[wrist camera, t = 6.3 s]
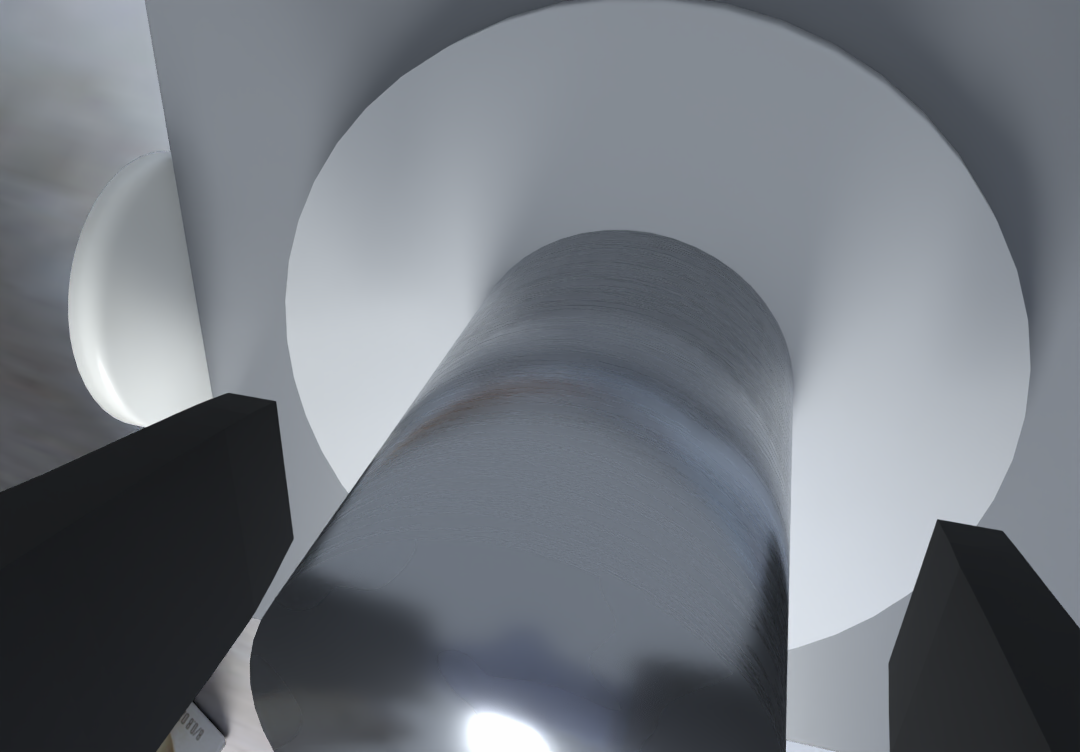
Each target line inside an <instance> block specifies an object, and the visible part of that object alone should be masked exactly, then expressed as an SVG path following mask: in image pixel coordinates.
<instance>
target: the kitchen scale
mask: <svg viewBox="0 0 1080 752" xmlns="http://www.w3.org/2000/svg"><path fill="white" fill-rule="evenodd" d="M145 4H146V10H147V16H148V21H149V27H150V33H151V39H152V45H153V51H154V57H155V62H156V68H157V74H158V80H159V86H160V92H161V98H162V103H163V109H164V115H165V121H166V127H167V133H168V139H169V145H170V150H171V151H159V152H152V153H149V154H146V155H143V156H141V157H139V158H137V159H135V160H134V161H132V162H130V163H129V164H127V165H126V166H125V167H124V168H123V169H121V170H120V171H119V172H118V173H117V174H116V175H115V176H114V177H113V178H112V179H111V180H110V181H109V183H108V184H107V185H106V186H105V188H104V189H103V191H102V192H101V193H100V195H99V196H98V198H97V199H96V201H95V203H94V205H93V207H92V209H91V210H90V212H89V214H88V216H87V219H86V221H85V223H84V226H83V228H82V231H81V233H80V236H79V240H78V243H77V247H76V250H75V253H74V258H73V263H72V268H71V274H70V283H69V293H68V320H69V331H70V339H71V344H72V349H73V354H74V357H75V361H76V364H77V367H78V370H79V373H80V375H81V377H82V379H83V381H84V384H85V386H86V388H87V389H88V391H89V392H90V394H91V395H92V397H93V398H94V400H95V401H96V402H97V403H98V404H99V405H100V406H101V408H102V409H103V410H105V411H106V412H107V413H108V414H110V415H111V416H112V417H114V418H116V419H118V420H120V421H122V422H124V423H128V424H132V425H136V426H141V427H148V426H150V425H152V424H154V423H157V422H159V421H161V420H163V419H165V418H168V417H170V416H172V415H174V414H177V413H179V412H181V411H183V410H186V409H188V408H190V407H193V406H195V405H197V404H200V403H202V402H205V401H207V400H210V399H212V398H215V397H218V396H221V395H223V394H226V393H233V394H239V395H245V396H250V397H256V398H261V399H267V400H273V401H276V403H277V411H278V419H279V427H280V434H281V442H282V450H283V458H284V466H285V473H286V481H287V489H288V497H289V504H290V512H291V520H292V528H293V535H294V540H293V542H292V544H291V546H290V548H289V550H288V552H287V554H286V556H285V557H284V559H283V561H282V563H281V565H280V567H279V569H278V571H277V573H276V575H275V577H274V579H273V581H272V583H271V585H270V587H269V588H268V590H267V592H266V594H265V596H264V597H263V599H262V601H261V603H260V605H259V607H258V608H257V610H256V612H255V614H254V615H253V617H252V618H255V619H260V620H261V619H262V617H263V616H264V614H265V613H266V611H267V610H268V608H269V607H270V605H271V604H272V602H273V601H274V599H275V598H276V596H277V595H278V593H279V592H280V591H281V589H282V588H283V586H284V585H285V583H286V582H287V581H288V579H289V578H290V576H291V575H292V573H293V572H294V571H295V569H296V568H297V566H298V565H299V563H300V562H301V561H302V559H303V558H304V556H305V555H306V554H307V552H308V551H309V549H310V548H311V546H312V545H313V544H314V542H315V541H316V539H317V538H318V536H319V535H320V534H321V532H322V531H323V529H324V528H325V526H326V525H327V524H328V522H329V521H330V519H331V518H332V517H333V515H334V514H335V512H336V511H337V509H338V508H339V507H340V505H341V504H342V502H343V501H344V499H345V498H346V497H347V495H348V494H349V492H350V491H351V490H352V488H353V487H354V485H355V484H356V482H357V481H358V480H359V478H360V477H361V475H362V474H363V472H364V471H365V470H366V468H367V467H368V465H369V464H370V462H371V461H372V460H373V458H374V457H375V455H376V454H377V453H378V451H379V450H380V448H381V447H382V445H383V444H384V443H385V441H386V440H387V438H388V437H389V435H390V434H391V433H392V431H393V430H394V428H395V427H396V425H397V424H398V423H399V421H400V420H401V418H402V417H403V416H404V414H405V413H406V411H407V410H408V408H409V407H410V406H411V404H412V403H413V401H414V400H415V398H416V397H417V396H418V394H419V393H420V391H421V390H422V389H423V387H424V386H425V384H426V383H427V381H428V380H429V379H430V377H431V376H432V374H433V373H434V371H435V370H436V369H437V367H438V366H439V364H440V363H441V361H442V360H443V359H444V357H445V356H446V354H447V353H448V352H449V350H450V349H451V347H452V346H453V344H454V343H455V342H456V340H457V339H458V337H459V336H460V334H461V333H462V332H463V330H464V329H465V327H466V326H467V324H468V323H469V322H470V320H471V319H472V317H473V316H474V315H475V313H476V312H477V310H478V309H479V307H480V306H481V305H482V303H483V302H484V300H485V299H486V297H487V296H488V295H489V293H490V292H491V290H492V289H493V287H494V286H495V285H496V283H497V282H498V281H499V280H500V279H501V278H502V277H503V276H504V275H505V274H506V272H507V271H508V270H509V269H511V268H512V267H513V266H514V265H516V264H517V263H518V262H519V261H520V260H522V259H523V258H524V257H526V256H527V255H529V254H531V253H532V252H534V251H536V250H537V249H539V248H541V247H543V246H545V245H548V244H550V243H552V242H555V241H557V240H559V239H562V238H566V237H570V236H573V235H577V234H581V233H587V232H594V231H602V230H631V231H640V232H648V233H653V234H657V235H661V236H666V237H670V238H673V239H676V240H679V241H681V242H684V243H687V244H689V245H692V246H694V247H697V248H698V249H700V250H702V251H704V252H706V253H708V254H710V255H712V256H714V257H715V258H717V259H718V260H720V261H721V262H723V263H724V264H725V265H727V266H728V267H730V268H731V269H733V270H734V271H735V272H736V273H737V274H739V275H740V276H741V277H742V278H743V279H744V280H745V281H746V282H747V283H748V284H749V285H751V286H752V288H753V289H754V290H755V291H756V292H757V294H758V295H759V296H760V297H761V298H762V300H763V301H764V302H765V303H766V305H767V306H768V308H769V309H770V311H771V313H772V314H773V316H774V317H775V319H776V321H777V322H778V325H779V327H780V329H781V331H782V334H783V336H784V338H785V340H786V344H787V347H788V351H789V355H790V358H791V363H792V372H793V426H792V474H791V522H790V570H789V618H788V666H787V714H786V740H787V741H792V742H796V743H801V744H805V745H809V746H814V747H818V748H822V749H827V750H831V751H835V752H890V741H889V669H888V663H889V660H890V657H891V654H892V651H893V648H894V645H895V642H896V639H897V636H898V634H899V631H900V628H901V625H902V622H903V619H904V616H905V613H906V610H907V607H908V604H909V601H910V598H911V595H912V592H913V589H914V586H915V583H916V580H917V577H918V575H919V572H920V569H921V566H922V563H923V560H924V557H925V554H926V551H927V548H928V545H929V542H930V539H931V536H932V533H933V530H934V527H935V524H936V521H937V519H940V520H945V521H951V522H956V523H962V524H968V525H973V526H979V527H984V528H990V529H996V530H1001V531H1003V532H1004V533H1005V534H1006V535H1007V537H1008V538H1009V539H1010V540H1011V541H1012V543H1013V544H1014V545H1015V546H1016V548H1017V549H1018V550H1019V551H1020V553H1021V554H1022V555H1023V556H1024V558H1025V559H1026V560H1027V562H1028V563H1029V564H1030V565H1031V567H1032V568H1033V569H1034V571H1035V572H1036V573H1037V574H1038V576H1039V577H1040V578H1041V580H1042V581H1043V582H1044V583H1045V585H1046V586H1047V587H1048V589H1049V590H1050V591H1051V592H1052V594H1053V595H1054V596H1055V598H1056V599H1057V600H1058V601H1059V603H1060V604H1061V605H1062V606H1063V608H1064V609H1065V610H1066V611H1067V613H1068V614H1069V615H1070V617H1071V618H1072V619H1073V620H1074V622H1075V623H1076V624H1077V625H1078V627H1079V628H1080V0H145Z"/></svg>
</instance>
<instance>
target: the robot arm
mask: <svg viewBox="0 0 1080 752" xmlns="http://www.w3.org/2000/svg"><path fill="white" fill-rule="evenodd" d="M293 540H294V535H293V528H292V520H291V512H290V504H289V497H288V489H287V481H286V473H285V466H284V458H283V450H282V442H281V434H280V427H279V419H278V411H277V403H276V401H273V400H267V399H261V398H256V397H250V396H245V395H239V394H233V393H226V394H223V395H221V396H218V397H215V398H212V399H210V400H207V401H205V402H202V403H200V404H197V405H195V406H193V407H190V408H188V409H186V410H183V411H181V412H179V413H177V414H174V415H172V416H170V417H168V418H165V419H163V420H161V421H159V422H157V423H154V424H152V425H150V426H148V427H146V428H143V429H141V430H139V431H137V432H135V433H133V434H130V435H128V436H126V437H124V438H122V439H120V440H117V441H115V442H113V443H111V444H109V445H107V446H104V447H102V448H100V449H98V450H96V451H93V452H91V453H89V454H87V455H85V456H82V457H80V458H78V459H76V460H74V461H72V462H69V463H67V464H65V465H63V466H61V467H58V468H56V469H54V470H52V471H50V472H47V473H45V474H43V475H40V476H38V477H36V478H33V479H31V480H29V481H26V482H24V483H21V484H19V485H17V486H14V487H12V488H10V489H7V490H5V491H2V492H0V752H156V751H157V750H158V749H159V747H160V746H161V744H162V743H163V742H164V740H165V739H166V737H167V736H168V735H169V733H170V732H171V731H172V729H173V728H174V726H175V725H176V724H177V722H178V721H179V719H180V718H181V717H182V715H183V714H184V712H185V711H186V710H187V708H188V707H189V706H190V704H191V703H192V701H193V700H194V699H195V697H196V696H197V694H198V693H199V692H200V690H201V689H202V687H203V686H204V685H205V683H206V682H207V681H208V679H209V678H210V676H211V675H212V674H213V672H214V671H215V669H216V668H217V667H218V665H219V664H220V662H221V661H222V659H223V658H224V657H225V655H226V654H227V652H228V651H229V650H230V648H231V647H232V645H233V644H234V642H235V641H236V640H237V638H238V637H239V635H240V634H241V633H242V631H243V630H244V628H245V627H246V625H247V624H248V622H249V621H250V619H251V618H252V617H253V615H254V614H255V612H256V610H257V608H258V607H259V605H260V603H261V601H262V599H263V597H264V596H265V594H266V592H267V590H268V588H269V587H270V585H271V583H272V581H273V579H274V577H275V575H276V573H277V571H278V569H279V567H280V565H281V563H282V561H283V559H284V557H285V556H286V554H287V552H288V550H289V548H290V546H291V544H292V542H293ZM888 669H889V741H890V752H1080V628H1079V627H1078V625H1077V624H1076V623H1075V622H1074V620H1073V619H1072V618H1071V617H1070V615H1069V614H1068V613H1067V611H1066V610H1065V609H1064V608H1063V606H1062V605H1061V604H1060V603H1059V601H1058V600H1057V599H1056V598H1055V596H1054V595H1053V594H1052V592H1051V591H1050V590H1049V589H1048V587H1047V586H1046V585H1045V583H1044V582H1043V581H1042V580H1041V578H1040V577H1039V576H1038V574H1037V573H1036V572H1035V571H1034V569H1033V568H1032V567H1031V565H1030V564H1029V563H1028V562H1027V560H1026V559H1025V558H1024V556H1023V555H1022V554H1021V553H1020V551H1019V550H1018V549H1017V548H1016V546H1015V545H1014V544H1013V543H1012V541H1011V540H1010V539H1009V538H1008V537H1007V535H1006V534H1005V533H1004V532H1003V531H1001V530H996V529H990V528H984V527H979V526H973V525H968V524H962V523H956V522H951V521H945V520H940V519H937V521H936V524H935V527H934V530H933V533H932V536H931V539H930V542H929V545H928V548H927V551H926V554H925V557H924V560H923V563H922V566H921V569H920V572H919V575H918V577H917V580H916V583H915V586H914V589H913V592H912V595H911V598H910V601H909V604H908V607H907V610H906V613H905V616H904V619H903V622H902V625H901V628H900V631H899V634H898V636H897V639H896V642H895V645H894V648H893V651H892V654H891V657H890V660H889V663H888Z"/></svg>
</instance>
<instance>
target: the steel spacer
mask: <svg viewBox="0 0 1080 752" xmlns="http://www.w3.org/2000/svg"><path fill="white" fill-rule="evenodd" d="M792 426H793V372H792V363H791V358H790V355H789V351H788V347H787V344H786V340H785V338H784V336H783V334H782V331H781V329H780V327H779V325H778V322H777V321H776V319H775V317H774V316H773V314H772V313H771V311H770V309H769V308H768V306H767V305H766V303H765V302H764V301H763V300H762V298H761V297H760V296H759V295H758V294H757V292H756V291H755V290H754V289H753V288H752V286H751V285H749V284H748V283H747V282H746V281H745V280H744V279H743V278H742V277H741V276H740V275H739V274H737V273H736V272H735V271H734V270H733V269H731V268H730V267H728V266H727V265H725V264H724V263H723V262H721V261H720V260H718V259H717V258H715V257H714V256H712V255H710V254H708V253H706V252H704V251H702V250H700V249H698V248H697V247H694V246H692V245H689V244H687V243H684V242H681V241H679V240H676V239H673V238H670V237H666V236H661V235H657V234H653V233H648V232H640V231H631V230H602V231H594V232H587V233H581V234H577V235H573V236H570V237H566V238H562V239H559V240H557V241H555V242H552V243H550V244H548V245H545V246H543V247H541V248H539V249H537V250H536V251H534V252H532V253H531V254H529V255H527V256H526V257H524V258H523V259H522V260H520V261H519V262H518V263H517V264H516V265H514V266H513V267H512V268H511V269H509V270H508V271H507V272H506V274H505V275H504V276H503V277H502V278H501V279H500V280H499V281H498V282H497V283H496V285H495V286H494V287H493V289H492V290H491V292H490V293H489V295H488V296H487V297H486V299H485V300H484V302H483V303H482V305H481V306H480V307H479V309H478V310H477V312H476V313H475V315H474V316H473V317H472V319H471V320H470V322H469V323H468V324H467V326H466V327H465V329H464V330H463V332H462V333H461V334H460V336H459V337H458V339H457V340H456V342H455V343H454V344H453V346H452V347H451V349H450V350H449V352H448V353H447V354H446V356H445V357H444V359H443V360H442V361H441V363H440V364H439V366H438V367H437V369H436V370H435V371H434V373H433V374H432V376H431V377H430V379H429V380H428V381H427V383H426V384H425V386H424V387H423V389H422V390H421V391H420V393H419V394H418V396H417V397H416V398H415V400H414V401H413V403H412V404H411V406H410V407H409V408H408V410H407V411H406V413H405V414H404V416H403V417H402V418H401V420H400V421H399V423H398V424H397V425H396V427H395V428H394V430H393V431H392V433H391V434H390V435H389V437H388V438H387V440H386V441H385V443H384V444H383V445H382V447H381V448H380V450H379V451H378V453H377V454H376V455H375V457H374V458H373V460H372V461H371V462H370V464H369V465H368V467H367V468H366V470H365V471H364V472H363V474H362V475H361V477H360V478H359V480H358V481H357V482H356V484H355V485H354V487H353V488H352V490H351V491H350V492H349V494H348V495H347V497H346V498H345V499H344V501H343V502H342V504H341V505H340V507H339V508H338V509H337V511H336V512H335V514H334V515H333V517H332V518H331V519H330V521H329V522H328V524H327V525H326V526H325V528H324V529H323V531H322V532H321V534H320V535H319V536H318V538H317V539H316V541H315V542H314V544H313V545H312V546H311V548H310V549H309V551H308V552H307V554H306V555H305V556H304V558H303V559H302V561H301V562H300V563H299V565H298V566H297V568H296V569H295V571H294V572H293V573H292V575H291V576H290V578H289V579H288V581H287V582H286V583H285V585H284V586H283V588H282V589H281V591H280V592H279V593H278V595H277V596H276V598H275V599H274V601H273V602H272V604H271V605H270V607H269V608H268V610H267V611H266V613H265V614H264V616H263V617H262V619H261V622H260V624H259V627H258V630H257V632H256V635H255V637H254V640H253V646H252V652H251V658H250V685H251V690H252V695H253V700H254V705H255V709H256V712H257V714H258V717H259V720H260V723H261V726H262V728H263V731H264V733H265V735H266V737H267V739H268V741H269V743H270V744H271V746H272V748H273V750H274V752H786V714H787V666H788V618H789V570H790V522H791V474H792Z"/></svg>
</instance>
